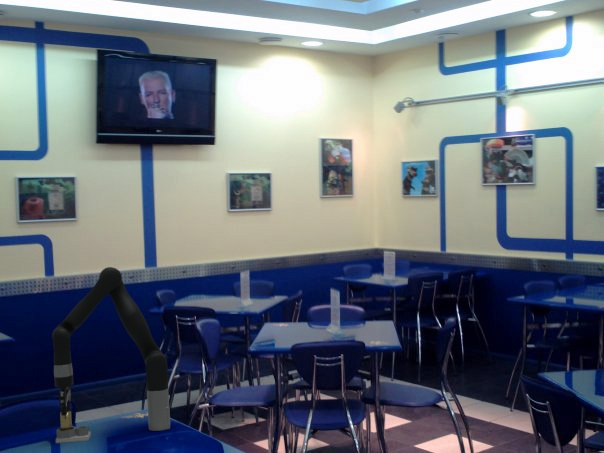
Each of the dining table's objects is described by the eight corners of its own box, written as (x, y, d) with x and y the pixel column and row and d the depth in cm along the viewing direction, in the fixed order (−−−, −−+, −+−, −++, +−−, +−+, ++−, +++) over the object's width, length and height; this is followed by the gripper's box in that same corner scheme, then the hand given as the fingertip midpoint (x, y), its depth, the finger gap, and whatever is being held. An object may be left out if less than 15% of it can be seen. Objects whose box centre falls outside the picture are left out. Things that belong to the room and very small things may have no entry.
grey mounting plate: (90, 434, 332) (90, 424, 332) (88, 440, 323) (87, 429, 323) (59, 437, 330) (58, 426, 330) (55, 443, 321) (55, 432, 321)
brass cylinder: (73, 434, 328) (71, 410, 328) (71, 436, 324) (70, 412, 324) (62, 434, 328) (61, 411, 328) (60, 437, 323) (59, 413, 323)
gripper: (70, 377, 319) (72, 416, 319) (75, 370, 333) (77, 408, 333) (51, 378, 318) (53, 418, 318) (57, 372, 332) (59, 409, 332)
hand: (66, 412), depth 326 cm, fingers open, 8 cm apart
